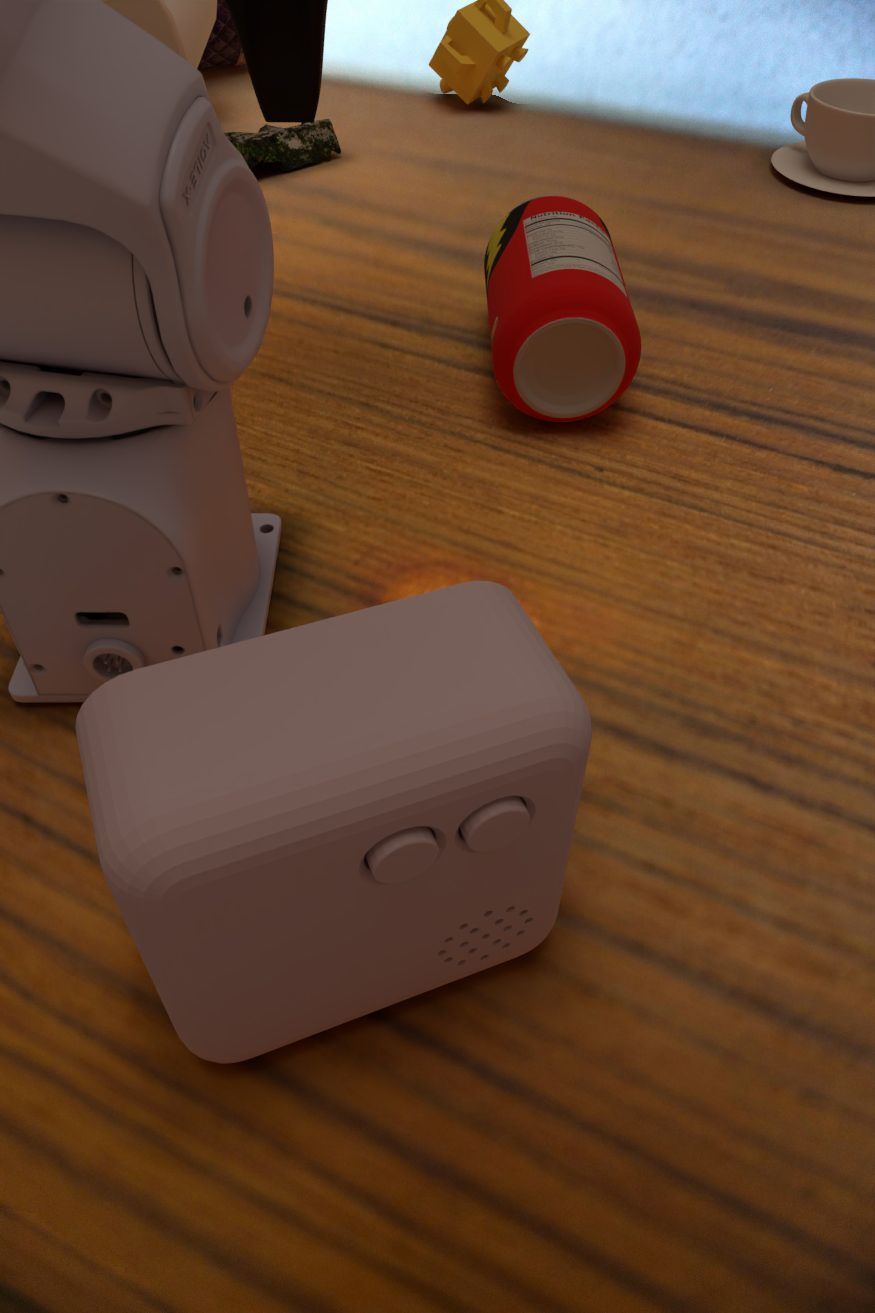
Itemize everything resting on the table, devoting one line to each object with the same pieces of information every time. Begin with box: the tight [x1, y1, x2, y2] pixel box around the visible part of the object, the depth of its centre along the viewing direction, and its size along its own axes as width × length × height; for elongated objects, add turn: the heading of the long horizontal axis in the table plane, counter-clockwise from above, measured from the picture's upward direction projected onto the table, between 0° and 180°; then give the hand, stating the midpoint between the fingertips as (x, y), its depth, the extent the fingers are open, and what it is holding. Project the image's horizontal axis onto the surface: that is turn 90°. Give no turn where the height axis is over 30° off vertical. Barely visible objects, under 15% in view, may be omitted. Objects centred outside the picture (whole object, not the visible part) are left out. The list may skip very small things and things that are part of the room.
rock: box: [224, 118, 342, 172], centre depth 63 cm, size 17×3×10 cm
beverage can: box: [483, 193, 642, 423], centre depth 44 cm, size 6×6×12 cm
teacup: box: [770, 77, 875, 198], centre depth 62 cm, size 10×10×5 cm
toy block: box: [428, 0, 531, 105], centre depth 72 cm, size 8×8×6 cm
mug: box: [197, 0, 246, 72], centre depth 77 cm, size 10×7×12 cm
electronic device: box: [74, 580, 593, 1064], centre depth 22 cm, size 10×5×10 cm, turn 112°
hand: (291, 117), depth 40 cm, fingers closed
